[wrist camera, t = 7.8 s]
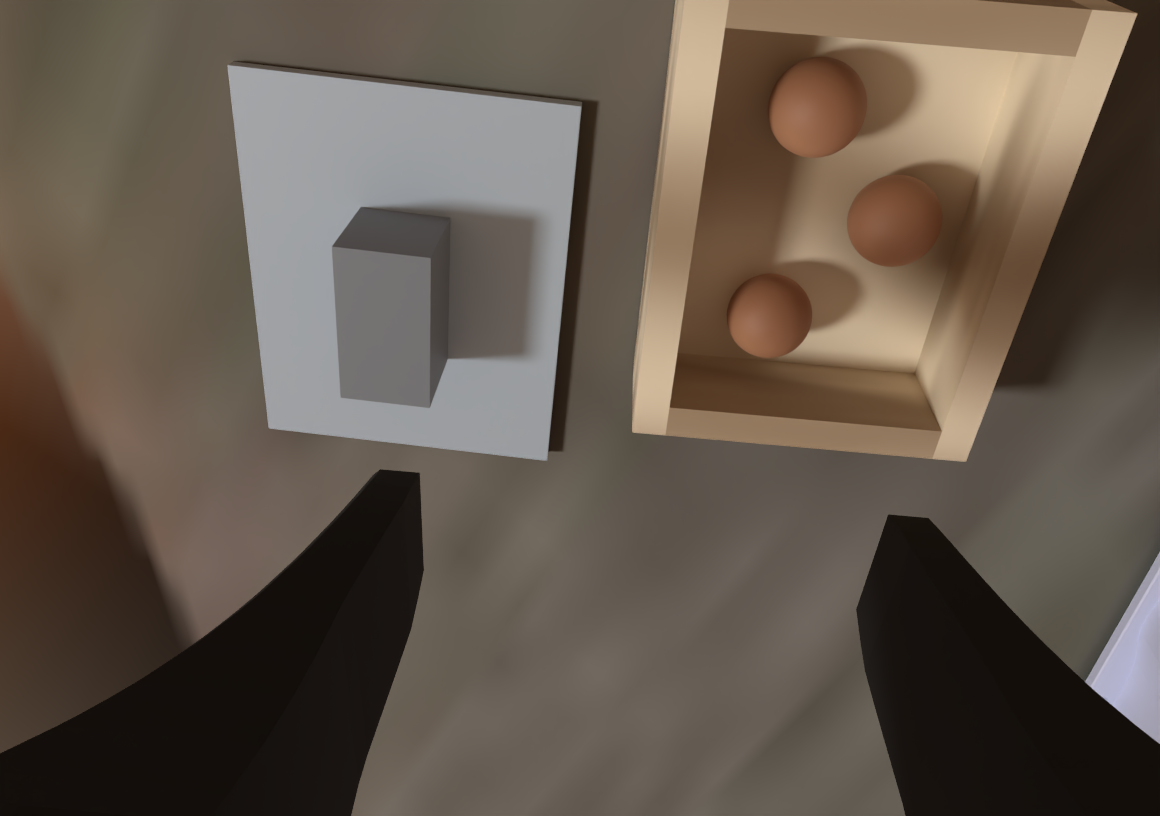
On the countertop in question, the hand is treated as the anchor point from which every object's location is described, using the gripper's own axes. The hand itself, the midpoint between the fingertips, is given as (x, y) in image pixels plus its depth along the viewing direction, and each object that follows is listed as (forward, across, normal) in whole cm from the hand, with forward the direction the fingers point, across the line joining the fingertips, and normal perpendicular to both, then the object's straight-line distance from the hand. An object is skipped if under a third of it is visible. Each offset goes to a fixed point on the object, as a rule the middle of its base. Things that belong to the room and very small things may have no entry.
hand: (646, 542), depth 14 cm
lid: (+11, +6, +1) cm, 13 cm away
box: (+10, -4, -2) cm, 11 cm away
